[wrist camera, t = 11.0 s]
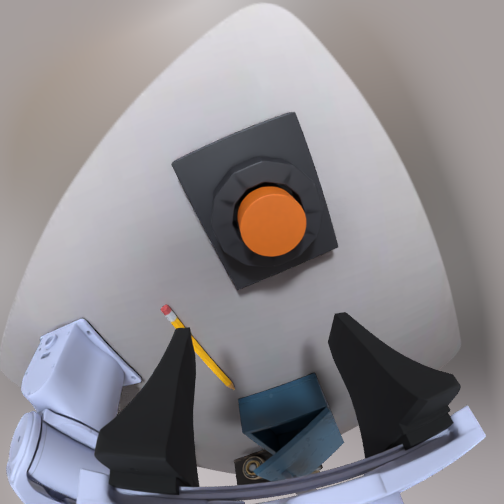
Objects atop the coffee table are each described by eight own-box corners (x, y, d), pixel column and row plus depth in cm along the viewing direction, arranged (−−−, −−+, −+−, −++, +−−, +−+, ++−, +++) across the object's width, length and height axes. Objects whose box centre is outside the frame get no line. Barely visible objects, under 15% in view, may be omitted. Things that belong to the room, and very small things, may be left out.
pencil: (168, 303, 21) (167, 308, 21) (238, 386, 28) (238, 391, 27) (160, 306, 21) (159, 312, 21) (231, 388, 28) (232, 393, 27)
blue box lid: (288, 486, 26) (310, 506, 23) (252, 471, 20) (281, 501, 16) (340, 439, 30) (364, 456, 26) (325, 406, 24) (359, 430, 20)
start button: (227, 201, 15) (229, 211, 14) (286, 176, 15) (294, 183, 14) (251, 252, 17) (255, 266, 15) (305, 229, 17) (314, 241, 15)
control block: (173, 160, 16) (165, 169, 14) (289, 112, 16) (304, 111, 13) (236, 281, 21) (239, 305, 18) (332, 240, 20) (348, 259, 18)
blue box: (273, 434, 35) (279, 459, 31) (237, 399, 29) (242, 432, 25) (332, 413, 34) (341, 439, 30) (314, 372, 28) (327, 405, 24)
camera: (297, 428, 35) (309, 471, 28) (317, 435, 38) (329, 473, 31) (219, 458, 38) (223, 495, 31) (243, 464, 41) (248, 498, 34)
